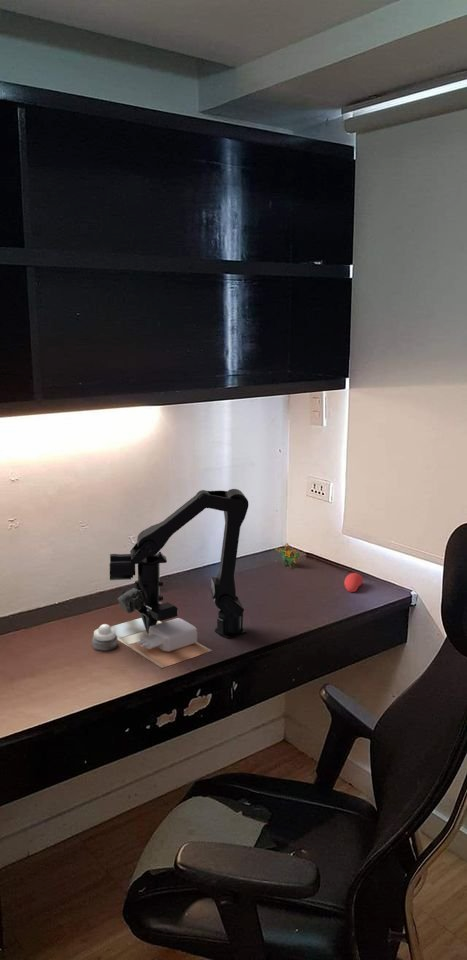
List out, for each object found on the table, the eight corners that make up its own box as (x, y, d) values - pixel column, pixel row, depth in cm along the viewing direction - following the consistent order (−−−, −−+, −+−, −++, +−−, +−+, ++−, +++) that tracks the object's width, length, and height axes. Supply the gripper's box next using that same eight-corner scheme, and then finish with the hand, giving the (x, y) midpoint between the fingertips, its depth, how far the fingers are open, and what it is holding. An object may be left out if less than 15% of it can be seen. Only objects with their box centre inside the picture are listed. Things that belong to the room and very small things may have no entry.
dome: (108, 630, 199) (108, 618, 199) (119, 637, 195) (119, 625, 195) (90, 636, 196) (89, 623, 195) (100, 643, 192) (100, 630, 191)
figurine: (296, 571, 254) (297, 548, 252) (271, 562, 262) (271, 540, 260) (302, 569, 256) (303, 546, 254) (277, 560, 264) (278, 538, 262)
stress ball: (337, 593, 239) (340, 580, 234) (350, 576, 244) (354, 563, 240) (351, 601, 237) (355, 588, 232) (364, 584, 242) (368, 571, 238)
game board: (149, 615, 215) (149, 608, 215) (211, 651, 194) (211, 643, 193) (77, 636, 201) (77, 629, 200) (136, 677, 179) (136, 669, 179)
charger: (129, 647, 195) (176, 632, 204) (149, 660, 188) (197, 644, 197) (129, 630, 194) (176, 616, 203) (149, 642, 187) (197, 627, 196)
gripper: (103, 574, 200) (105, 629, 203) (142, 595, 186) (143, 653, 189) (139, 566, 207) (139, 619, 210) (179, 585, 193) (179, 641, 196)
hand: (149, 633), depth 201 cm, fingers closed
